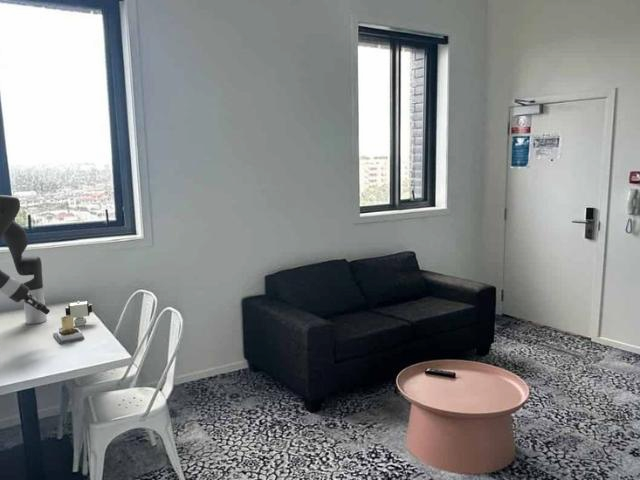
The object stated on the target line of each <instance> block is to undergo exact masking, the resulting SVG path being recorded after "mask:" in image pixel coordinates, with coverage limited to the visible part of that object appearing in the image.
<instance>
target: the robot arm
mask: <svg viewBox="0 0 640 480" xmlns="http://www.w3.org/2000/svg"><path fill="white" fill-rule="evenodd" d="M20 209H21V202H20V199H19V198H18V197H17V196H14V195H13V196H12V195H7V194H6V195H5V194H4V195H3V194H0V240H2V238H3V239H4V240H3V241H4V242H5V244H6V247H7V248H8V250H9V252H10V255H11V257H12V261H13V263H14V267H15V270H16V272H17V275H19V276H22V277H23V276H33V278H32V279H30V280H28V281H24V282H23V283H22V281H19V280H17V279H16V278H14V277H12V276H11V275H9V274H7V273H6V272H4V271H3V270H1V269H0V293H1V294H2V295H4V296H6V298H9V299H11V300H12V301H13V302H15V303H20V302H21V301H23V308H24V316H25V317H24V318H25V324H27V325H35V324H40V323H45V322H46V321H47V315H49V313H50V311H51V310H50V309H49V308H48V307H47V306H46V300H45V292H44V283H43V281H44V280H43V268H42V267H43V266H42V259H41V257H40V256H39V255H38V256H37V255H36V256H33V255H32V256H22V255H23V253H24V252H25V250H26V249H27V247H28V245H29V236H28V234H27V232H26V230H25V228H24V227H23V226H22V225H21V224H20V223H18V222H16V221H15V220H16V217H18V214H19V212H20Z"/></svg>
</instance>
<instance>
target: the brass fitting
mask: <svg viewBox="0 0 640 480" xmlns="http://www.w3.org/2000/svg"><path fill="white" fill-rule="evenodd" d="M60 320H61V328H62V331H63V334H62V336H64V335H69V334H74V333H75V331H74V328H75V324H74V318H73V316H66V315H65V316H64V315H63V316H62V317H60Z"/></svg>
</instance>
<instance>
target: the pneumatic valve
mask: <svg viewBox="0 0 640 480" xmlns="http://www.w3.org/2000/svg"><path fill="white" fill-rule="evenodd" d="M64 308H65V309H64V310H65V316H73V321H74V326H76V327H82V326H83V327H84V326H85V325H86V324H87V319H86V318H85V317H89V316H90V314H91V313H93V304H92V303H90V302H89V301H79V300H78V301H76V302H71V303H68V305H67V306H65V307H64ZM74 318H75V319H74Z"/></svg>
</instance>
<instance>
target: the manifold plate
mask: <svg viewBox="0 0 640 480" xmlns="http://www.w3.org/2000/svg"><path fill="white" fill-rule="evenodd" d="M74 331H75V333H74V334H69V335H64V336H62V334H63V331H62V327H59V328H58V331H56V332H54V333H52V336H53V337H54V338H55V340H56V342H57V343H59V345H62V344H68V343H73V342H77V341H82V340H85V336H84V335H83V332H82V331H81V330H80V328H78V327H74Z"/></svg>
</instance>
